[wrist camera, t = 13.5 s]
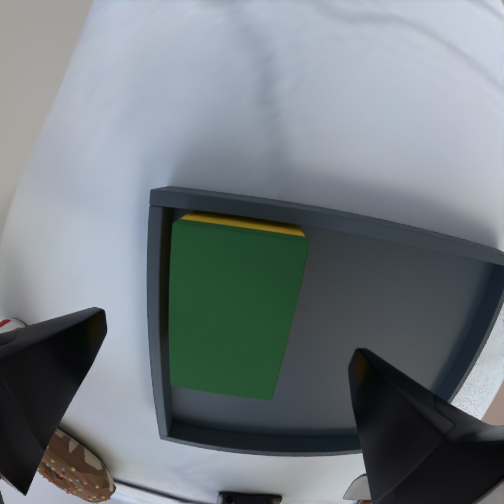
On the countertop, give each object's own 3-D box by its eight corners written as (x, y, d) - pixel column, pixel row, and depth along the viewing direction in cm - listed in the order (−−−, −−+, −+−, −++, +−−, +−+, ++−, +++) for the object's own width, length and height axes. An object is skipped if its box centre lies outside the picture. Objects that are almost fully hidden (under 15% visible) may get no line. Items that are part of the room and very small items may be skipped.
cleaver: (357, 481, 18) (403, 479, 17) (358, 470, 19) (402, 468, 18) (326, 516, 22) (361, 516, 21) (327, 508, 23) (362, 508, 22)
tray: (412, 426, 16) (420, 443, 14) (166, 418, 16) (159, 439, 14) (497, 249, 12) (518, 258, 10) (166, 186, 12) (150, 189, 10)
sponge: (270, 359, 13) (271, 400, 11) (185, 346, 13) (170, 385, 11) (297, 224, 11) (310, 242, 9) (193, 209, 11) (172, 222, 9)
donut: (125, 490, 22) (116, 518, 17) (40, 448, 21) (26, 470, 17) (112, 444, 18) (94, 483, 13) (7, 384, 17) (-16, 410, 12)
